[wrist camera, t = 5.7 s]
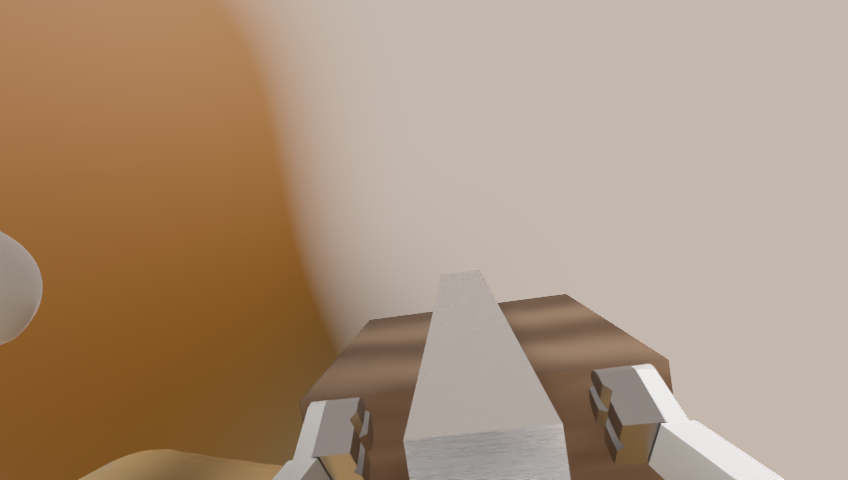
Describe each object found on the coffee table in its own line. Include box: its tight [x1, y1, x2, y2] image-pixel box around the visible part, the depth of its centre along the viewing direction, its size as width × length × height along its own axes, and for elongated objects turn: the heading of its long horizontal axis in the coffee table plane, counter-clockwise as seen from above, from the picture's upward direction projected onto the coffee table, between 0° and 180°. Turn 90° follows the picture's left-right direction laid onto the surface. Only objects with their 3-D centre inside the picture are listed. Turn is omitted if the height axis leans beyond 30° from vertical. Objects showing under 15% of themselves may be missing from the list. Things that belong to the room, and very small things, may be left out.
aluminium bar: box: [403, 270, 571, 480], centre depth 18 cm, size 22×3×3 cm, turn 175°
